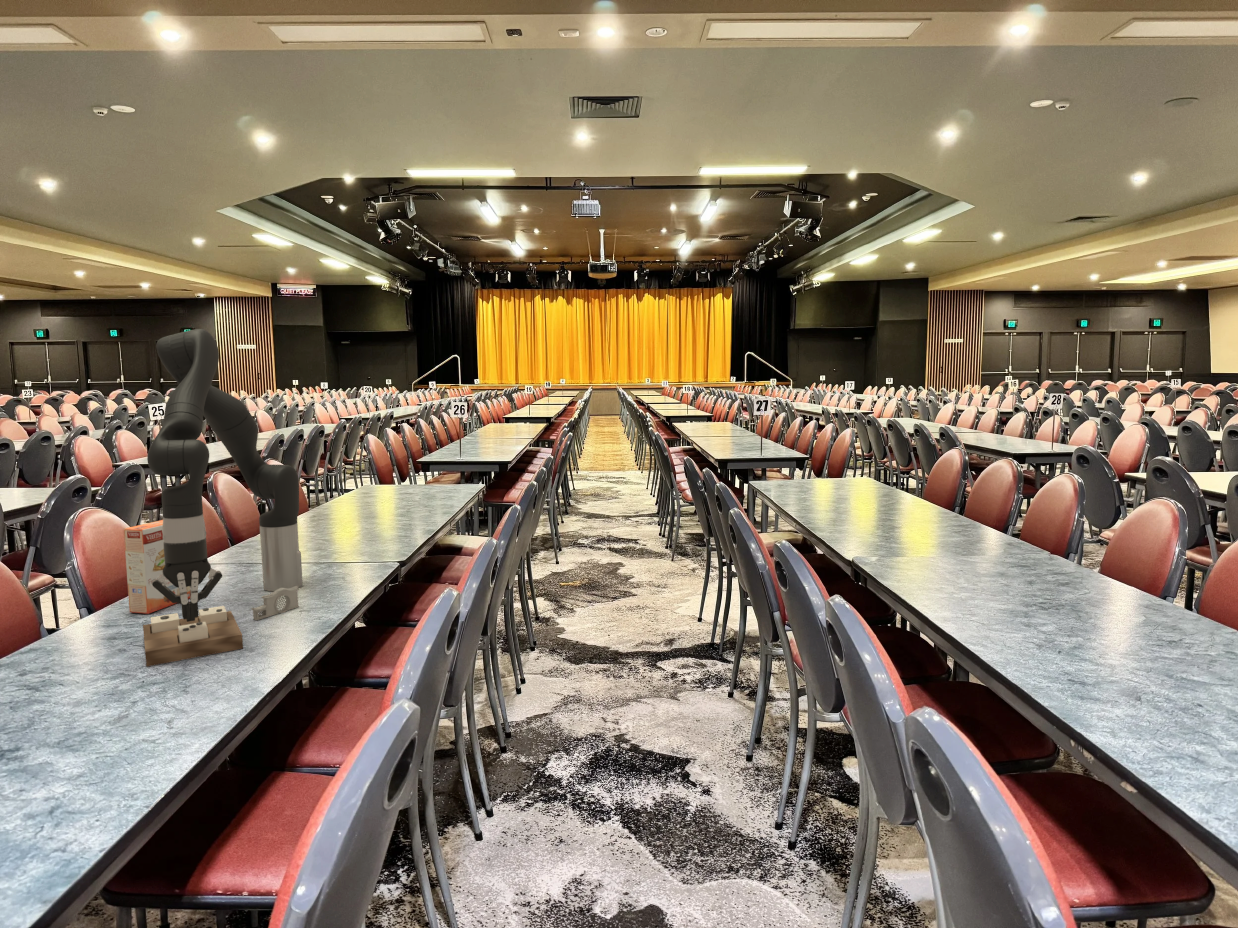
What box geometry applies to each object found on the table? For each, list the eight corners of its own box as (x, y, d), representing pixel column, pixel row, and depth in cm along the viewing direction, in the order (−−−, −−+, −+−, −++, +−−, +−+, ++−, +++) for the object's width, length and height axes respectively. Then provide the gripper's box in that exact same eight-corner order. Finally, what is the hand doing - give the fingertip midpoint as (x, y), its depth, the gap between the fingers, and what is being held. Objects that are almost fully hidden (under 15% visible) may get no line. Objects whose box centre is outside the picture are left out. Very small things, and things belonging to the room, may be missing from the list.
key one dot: (178, 628, 161) (177, 611, 160) (180, 634, 157) (179, 617, 156) (151, 632, 158) (150, 615, 157) (152, 639, 154) (151, 622, 153)
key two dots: (225, 620, 166) (223, 604, 165) (227, 626, 162) (226, 610, 161) (199, 624, 163) (198, 608, 162) (201, 631, 159) (200, 614, 158)
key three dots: (206, 637, 155) (205, 620, 155) (208, 644, 151) (207, 626, 150) (179, 642, 152) (177, 624, 152) (180, 649, 148) (179, 631, 148)
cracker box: (149, 614, 175) (142, 529, 172) (128, 613, 176) (121, 528, 174) (194, 597, 188) (188, 517, 186) (174, 596, 190) (168, 517, 187)
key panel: (231, 623, 168) (231, 610, 168) (243, 648, 153) (242, 634, 152) (144, 638, 159) (142, 625, 159) (146, 666, 143) (145, 651, 143)
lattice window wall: (256, 621, 170) (254, 596, 169) (251, 620, 171) (249, 595, 170) (300, 607, 180) (299, 583, 180) (295, 606, 181) (294, 582, 181)
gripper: (219, 530, 156) (224, 610, 158) (145, 538, 148) (152, 621, 150) (223, 537, 149) (228, 619, 151) (146, 545, 142) (153, 631, 144)
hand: (190, 620), depth 151 cm, fingers closed
